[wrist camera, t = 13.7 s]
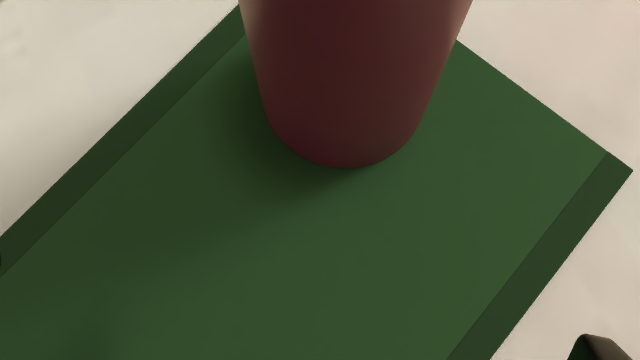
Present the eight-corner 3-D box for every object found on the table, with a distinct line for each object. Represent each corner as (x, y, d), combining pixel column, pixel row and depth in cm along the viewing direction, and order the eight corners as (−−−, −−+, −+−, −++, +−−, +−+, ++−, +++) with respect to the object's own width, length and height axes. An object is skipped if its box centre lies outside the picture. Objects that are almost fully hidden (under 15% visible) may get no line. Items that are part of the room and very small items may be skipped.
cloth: (159, 790, 16) (155, 799, 15) (-172, 411, 18) (-181, 412, 18) (629, 173, 20) (634, 170, 20) (311, -63, 23) (312, -68, 22)
